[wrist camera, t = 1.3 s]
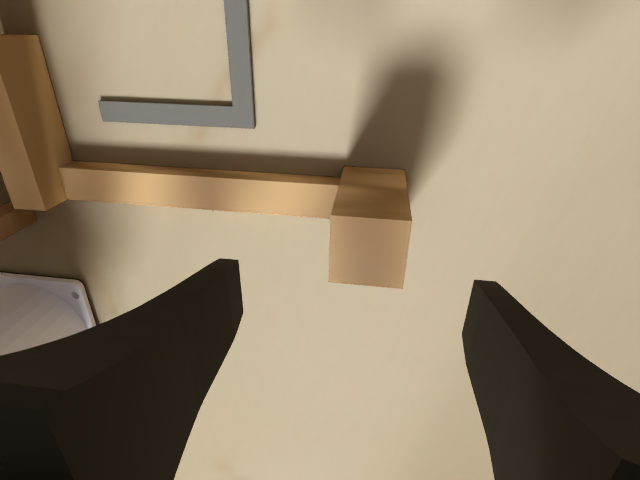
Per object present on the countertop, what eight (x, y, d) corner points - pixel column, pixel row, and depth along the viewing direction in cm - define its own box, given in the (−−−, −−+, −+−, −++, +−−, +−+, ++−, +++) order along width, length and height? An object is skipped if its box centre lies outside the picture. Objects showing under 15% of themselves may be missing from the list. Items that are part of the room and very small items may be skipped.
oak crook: (55, 199, 24) (-38, 248, 18) (4, 34, 20) (-135, 37, 14) (398, 224, 21) (402, 288, 16) (419, 44, 17) (434, 52, 12)
